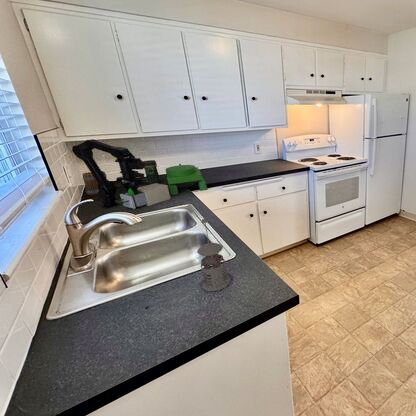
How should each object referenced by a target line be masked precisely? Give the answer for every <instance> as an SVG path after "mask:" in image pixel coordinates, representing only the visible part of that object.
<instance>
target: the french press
mask: <svg viewBox="0 0 416 416" xmlns="http://www.w3.org/2000/svg"><path fill="white" fill-rule="evenodd" d="M208 222H209V220H208V219H207V218H202V219H201V223H202V224H204V227H205V231H206V237H207V243H205V244H203V245H202V246H200V247H199V248H198V249H197V251H196V252H197V254H198V255H199V256H202V257H203V258H202V259H201V260H200V269H201V274H202V278H203V279H202V280H203V282H202V283H201V288H202V289H203V290H204V291H207V292H216V291H220V290H223V289H224V288H226V287H227V286H228V285H230V283H231V281H232V279H231V276H229V275H228V272H227V265H226V261H225V258H224V256H223V255H222V254H219V253H221V251H223V248H224V246H223V245H222V244H221V243H218V242H210V238H209V233H208V228H207V223H208ZM211 266H212V267H211ZM226 280H227V281H226Z"/></svg>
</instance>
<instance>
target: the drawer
mask: <svg viewBox="0 0 416 416" xmlns="http://www.w3.org/2000/svg"><path fill="white" fill-rule="evenodd" d="M119 196H120V199H117V200H115V202H116V203H117V204H120V205H122V206H123V207H126V208H128V209H129V208H130V209H133V210H135V209H136V208H138V207H142V206H146V205H145V204H148V203H147V199H146V195H145V192H140V191H138V193H137V195H134V196H131V195H129V194H128V192H125V193H120V194H119Z"/></svg>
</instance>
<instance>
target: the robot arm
mask: <svg viewBox="0 0 416 416" xmlns="http://www.w3.org/2000/svg"><path fill="white" fill-rule="evenodd" d="M93 150H99V151H101V152H104V153H107V154H110V155H111V156H112V157H113V158H115V160H114V163H118V165H119V169H120V171H119V174H121V176H117V177H115V178H116V179H115V180H116V183H119V184H120V185H121V186H122V187H123V188H124V189H125V190H126V191H127V192H128V190H129V189H130V188H131V190H132V191H133V193H134V194H135V195H136V194H137V190H138V188H139V187H140V185H142V184H144V179H145V173H144V172H139V170H141V171H142V170H145V169H144V167H145V164H144V162H143V161H144V160H142V159H141V157H137V158H136V156H135V155H134V154H133V153H132V152H131V151H130V150H129V148H127V147H123V146H113V145H111V144H108V143H104V142H101V141H99V140H97V139H87V140H85V141H83V142H81V143H79V144H76V145H73V146H72V149H71V152H72V153H73V154H74V155H75V157H76V158H77V159H79V160H81V161H83V163H84V164H85V166H86V168H87V169H88V170H89V172H90V173H92V175H93V176H94V178H95V179H96V181H97V182H98V189H99V192H98V194H97V195H96V197H97V199H100V200H101V203H102V205H101V206H102V207H104V208H107V209H108V208H111V207H114V206H118V205H119V203H116V202H115V200H118V199H117V197H116V195H117V190H118V188H117V185H116V184H115V181H113V180H109V179H106V177H107V176H106V177H105V176H104V174H103V173H102V171H103V170H102V169H101V168H100V166H99V165H98V163H97V161H95V158H94V152H93Z"/></svg>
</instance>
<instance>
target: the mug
mask: <svg viewBox="0 0 416 416" xmlns="http://www.w3.org/2000/svg"><path fill="white" fill-rule="evenodd" d="M101 171H102V173H103V174H104V176H105V177H106V179H107V174H106V172H105V171H104V170H101ZM82 180H83V183H84V187H85V192H86V194H87V195H89V196H97V194H98V192H99V189H98V182H97V181H96V179H95V178H94V176H93V175H92V173H91V172H90V171H88V172H83V173H82ZM107 180H108V179H107Z"/></svg>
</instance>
